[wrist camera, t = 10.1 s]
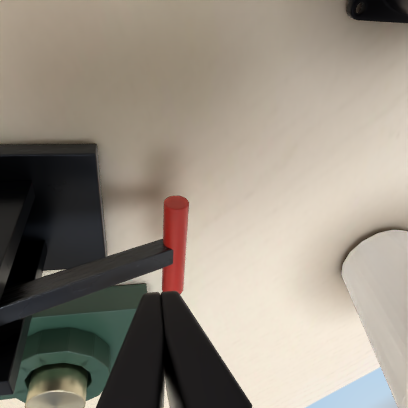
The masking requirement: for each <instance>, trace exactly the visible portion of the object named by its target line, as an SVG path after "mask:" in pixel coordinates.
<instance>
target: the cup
mask: <svg viewBox="0 0 408 408" xmlns="http://www.w3.org/2000/svg"><path fill="white" fill-rule="evenodd" d="M341 275H342V278H343V280H344V282H345V285H346V287H347V289H348V292H349V294H350V296H351V299H352V301H353V303H354V306H355V308H356V310H357V313H358V315H359V317H360V320H361V322H362V324H363V327H364V329H365V331H366V334H367V336H368V338H369V341H370V343H371V345H372V348H373V350H374V352H375V355H376V357H377V359H378V362H379V364H380V367H381V368H382V371H383V374H384V376H385V378H386V380H387V383H388V385H389V387H390V390H391V392H392V395H393V397H394V399H395V402H396V404H397V406H398V408H408V231H403V230H389V231H385V232H381V233H377V234H375V235H373V236H371V237H369V238H368V239H366V240H364V241H362V242H361V243H360V244H359V245H358V246H356V247H355V248H354V249H353V250H352V251H351V252H350V253H349V255H348V256H347V258H346V260H345V261H344V263H343V267H342V274H341Z"/></svg>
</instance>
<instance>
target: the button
mask: <svg viewBox="0 0 408 408" xmlns="http://www.w3.org/2000/svg"><path fill="white" fill-rule="evenodd" d="M87 378H88V374H87V371H86V369H85V368H83V367H82V366H79V365H74V364H69V363H56V364H47V365H43V366H41V367H39V368H36V369H35V370H34V371H33V373H32V375H31V379H30V384H29V389H28V393H27V398H26V403H25V408H84V407H85V403H86V391H87Z"/></svg>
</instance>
